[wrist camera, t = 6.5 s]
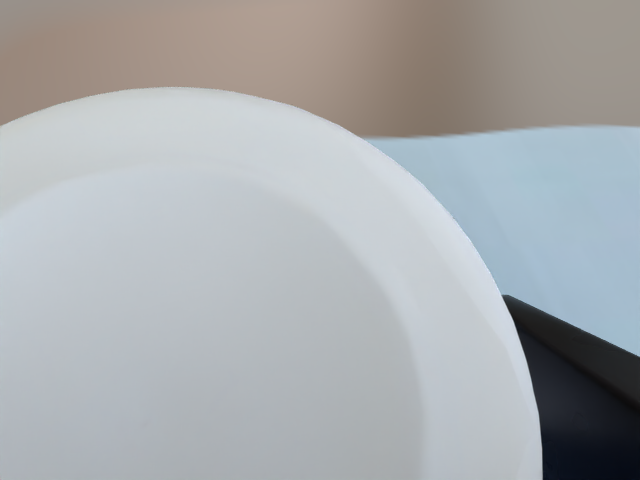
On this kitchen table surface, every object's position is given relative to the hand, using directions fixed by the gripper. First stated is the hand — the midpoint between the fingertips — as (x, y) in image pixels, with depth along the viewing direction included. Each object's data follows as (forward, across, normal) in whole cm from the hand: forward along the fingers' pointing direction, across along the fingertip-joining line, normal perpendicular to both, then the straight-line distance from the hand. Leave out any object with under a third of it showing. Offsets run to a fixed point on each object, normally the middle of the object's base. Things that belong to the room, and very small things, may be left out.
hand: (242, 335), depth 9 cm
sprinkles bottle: (+4, 0, +6) cm, 8 cm away
